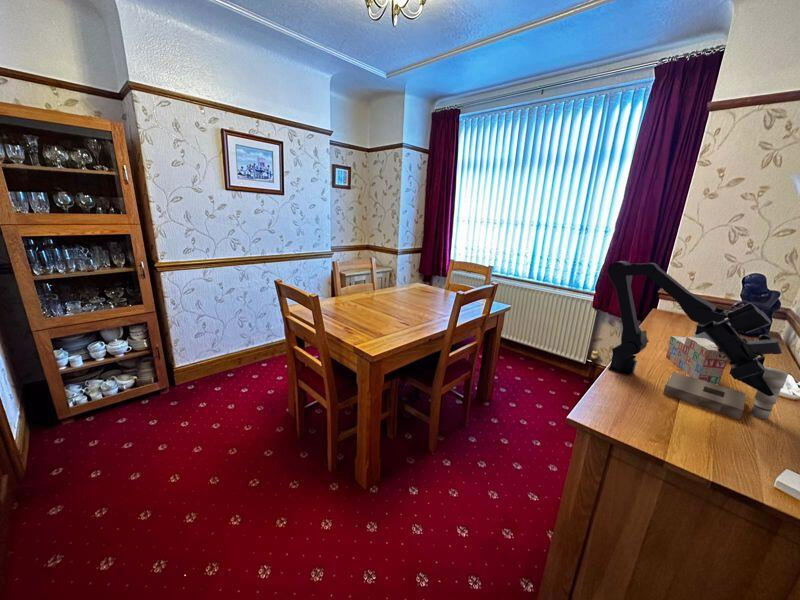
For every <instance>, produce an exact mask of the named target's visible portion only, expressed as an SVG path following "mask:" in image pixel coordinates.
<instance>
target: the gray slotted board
mask: <svg viewBox="0 0 800 600" xmlns="http://www.w3.org/2000/svg"><path fill="white" fill-rule="evenodd" d="M663 394H664V395H666V396H670V397H672V398H675V399H679V400H680V401H681V400H682V401H684V402H686V403H687V402H688V403H690V404H693V405H696V406H699V407H702V408H704V409H708V410H711V411H714V412H715V413H718V414H719V413H720V414H723V415H726V416H728V415H729V417H732V418H733V419H737V420H741V417H742V415H743V413H744V410H745V401H746V394H747V393H746V392H743V391H739V390H737V389H733V388H731V387H730V388H729V387H726V386H722V385H720V384H719V385H716V384H713V383H709V382H706V381H703V380H699V379H696V378H693V377H690V376H689V375H685V374H682V373H679V372H675V371H673V373H672V374H671V375H670V377H669V379H668V381H666V383H665V385H664V389H663V392H662V395H663Z"/></svg>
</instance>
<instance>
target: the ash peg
mask: <svg viewBox="0 0 800 600" xmlns="http://www.w3.org/2000/svg"><path fill="white" fill-rule="evenodd" d="M764 368H765V372H764V374H763V377H764V379H765V381H766V382H767V384H768V386H769V387H770V389H771V390H772V392H773V394H774V395H773V396H767V395H765V394H764V393H762V392H760V391H758V390H756V393H755V396H754V402H753V405H752V408H751V411H750V416H752V417H754V418H757V419H759V420H765V421H767V420H769V417H770V416H771V415H770V414H771V412H772V410H773V407H774V405H775V404H777V400H778V398H779V395H780V393H781V390H782V389H783V388H784V387H785V386H784V385H785V383H786V381H787V379H788V376H789V373H788V372H786V371H784V370H782V369H779V368H774V367H769V366H764Z"/></svg>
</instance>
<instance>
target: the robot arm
mask: <svg viewBox="0 0 800 600" xmlns="http://www.w3.org/2000/svg"><path fill="white" fill-rule="evenodd" d="M606 272H607V276H608V279H609V280H610V282H611V283H612V285H613V287H614V288H615V291H616V292H615V293H616V299H617V303H618V308H619V314H620V319H621V325H622V331H621V336H620V343H619V344H618V345H616V346H615V347H613V348H612V349H611V351H612V356H611V360H610V366H608V368H607V369H608V370H611V371H613V372H616V373H618V374H622V375H626V376H627V377H629V376H630V375H632V374H634V373H635V370H636V367H637V363H638V361H637V360H636V358H637V354H639V353H641V352H642V351H643V350H645V349H646V348H647V344H648V343H649V342H650V341H649V339H648V337H647V334H648V333H647V330H641V328H640V326H639V323H638V322H639V321H638V318H637V312H636V307H635V301H634V297H633V291H632V287H631V286H632V281H633V276H646V277H647V278H649V279H650V280H651V281H652V282H653V283H654V284H655V285H657V286H658V287H659V288H661V290H663V291H664V292H666V294H667V295H669V297H671V298H672V299H674V300H675V301H676V303H677V304H678V305H679V306H680V308H681V310H682V311H683V313H685V315H686V316H687V317H688V318H689V319H690V320H691V321H693V322H694V323H697V325H696V326H695V329H696V328H697V329H696V332H695V331H694V333H695V334H696V335H698V334H700V333H703V332H705V333H706V335H707V336H708V337H709V338H710V339H711V340H712V341H713V343H714V344H715V345H716V346H717V347H718V349H717V350H718V351H719V352H720V353H721V352H722V353H723V354H724V355H725V356H726V357H727V359H728V360H727V361H728V363H729V365H730V366H731V367H730V370H729V374H730V376H731V377H732V378H733V379H734V380H736V381H738V382H739V381H740V382H742V383H743V384H745V385H748V386H749V387H751V388H753V389H755V390H756V391H757V390H758V391H760V392H762V393H764V394H765V395H767V396H773V395H774V394H773V392H772V390H771V389H770V387H769V386H768V384H767V382H766V381H765V379H764V377H763V374H764V372H765V368H764V367H765V366H764V364H765V363H764V362H765V359H766V357H765V355H779V354H783V352H782V348H781V345H780V342H779V339H778V338H775V337H774V338H772V337H771V336H770V335H768V334H760V335H759V337H758V339H754V340H750V341H749V340H747V339H746V337H742V336H741V335H739V334H738V333H737V332H740V333H742V332H743V333H745V334H748V333H750V332H751V333H752V332H753V331H756V330H758V329H761V328H764V327H767V326H770V325H772V324H773V322H772V320H771V319H770V318H769V317H768V315H767V314H766V313H765V312H764V311H763V310H760V308H758V307H757V306H756V305H754V304H753V303H752V302H749V303H746V304H744V305H743V306H741V307H738V308H736V309H735V310H732V311H730V310H726V309H724V308H719V307H716V305H715V304H713V303H712V302H710V301H708V300H707V299H705V298H703V297H701V296H699V295H697V294H695V293H693V292H691V291H690V290H688V289H687V288H686V287H685V286H683V284H681V283H679V282H678V281H677V280H675V278H673V277H672V276H671V275H670V274H668V273H667V272H666V271H664V270H663V269H662V268H661V267H660V266H659V264H657V263H656V262H646V263H641V262H640V263H639V262H638V263H631V262H628V261H627V260H620V261H614V262H612V263H610V264H609V265H608V266H607V268H606ZM723 319H725V320H723ZM710 320H712V322H710V323H707V324H705V325H700V324H698V323H704V322H708V321H710ZM721 320H723V321H721ZM715 321H721V322H718V323H717V322H715Z"/></svg>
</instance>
